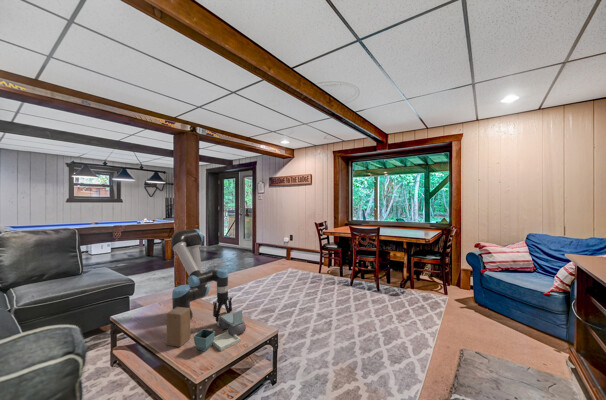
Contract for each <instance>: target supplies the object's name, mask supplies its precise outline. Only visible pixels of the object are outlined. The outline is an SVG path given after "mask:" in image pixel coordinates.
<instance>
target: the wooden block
mask: <svg viewBox="0 0 606 400" xmlns="http://www.w3.org/2000/svg"><path fill="white" fill-rule="evenodd" d="M190 308H191V307H190ZM190 308H185V307H176V308H174V309H173V308H172V309H171V310H169V311H168V312H167V313H166V319H165V320H166V322H165V323H166V345H167V346H170V347H176V348H177V347H178V348H179V347H182V346H183V345H184V344H185V343H187V342H188V341H189V340H190V339H191V319H190Z"/></svg>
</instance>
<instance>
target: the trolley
mask: <svg viewBox="0 0 606 400" xmlns="http://www.w3.org/2000/svg"><path fill="white" fill-rule="evenodd" d="M218 327H219V328H220V330H221V331H224V330H227V331H228V333H229V334H230V335H231V336H232V337H233V336H234V335H237V336H238V335H240V334H242V333H244V332H246V329H247V328H246V324H245V320H244V319H243V309H238V310H236V311H233V312H230V313H228V314H225V315H223V316H221V319H220V320H219V326H218Z"/></svg>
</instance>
